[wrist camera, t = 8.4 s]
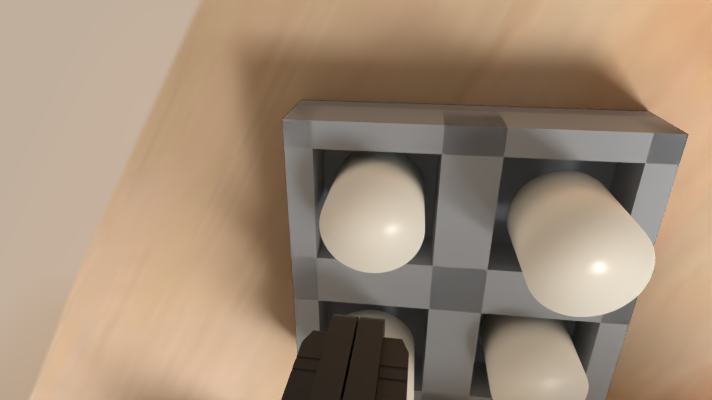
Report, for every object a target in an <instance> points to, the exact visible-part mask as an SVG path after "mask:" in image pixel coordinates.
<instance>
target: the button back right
mask: <svg viewBox="0 0 712 400" xmlns="http://www.w3.org/2000/svg"><path fill="white" fill-rule="evenodd" d="M481 339H482V345H483V351H484V357H485V363H486V369H487V374H488V380H489V386H490V392H491V396H492V399H493V400H585V399H586V397H587V394H588V390H589V383H588V379H587V376H586V374H585V371H584V369H583V367H582V364H581V362H580V359H579V357H578V355H577V352H576V350H575V347H574V345H573V343H572V340H571V338H570V335H569V333H568V331H567V328H566V326H565V323H564V321H563V320H560V319H547V318H534V317H522V316H509V315H496V314H487V315H486V317H485V318H484V320H483V322H482V325H481Z"/></svg>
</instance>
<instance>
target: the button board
mask: <svg viewBox="0 0 712 400" xmlns="http://www.w3.org/2000/svg"><path fill="white" fill-rule="evenodd" d="M282 123H283V138H284V154H285V169H286V184H287V200H288V215H289V231H290V246H291V262H292V277H293V292H294V308H295V323H296V339H297V354H298V351H299V348H300V346H301V343H302V341H303V340H304V339H305V338H306V337H307V336H308V335H309V334H310V333H311V332H312V331H313V330H316V331H326V332H328V329H329V326H330V322H331V319H332V316H333V314H340V315H348V314H350V313H353V312H356V311H360V310H378V311H383V312H386V313H389V314H391V315H393V316H395V317H397V318H398V319H400V320H401V321H402V322H403V323H404V324H405V325H406V326H407V327H408V328H409V330H410V331H411V333H412V335H413V338H414V343H415V351H414V400H493V399H492V396H491V392H490V386H489V380H488V374H487V369H486V363H485V357H484V351H483V345H482V339H481V325H482V322H483V320H484V318H485V317H486V315H487V314H496V315H509V316H522V317H534V318H547V319H560V320H563V321H564V323H565V326H566V328H567V331H568V333H569V335H570V338H571V340H572V343H573V345H574V347H575V350H576V352H577V355H578V357H579V359H580V362H581V364H582V367H583V369H584V371H585V374H586V376H587V379H588V383H589V390H588V394H587V397H586V399H585V400H605V399H606V395H607V392H608V389H609V386H610V383H611V379H612V376H613V373H614V370H615V367H616V364H617V360H618V357H619V354H620V351H621V348H622V344H623V341H624V338H625V335H626V332H627V328H628V325H629V322H630V319H631V316H632V313H633V309H634V306H635V303H636V300H637V297H638V296H637V297H636V298H635V299H633V300H632V301H631V302H629V303H628V304H626V305H625V306H623V307H621V308H619V309H617V310H615V311H612V312H609V313H606V314H603V315H598V316H592V317H573V316H567V315H562V314H559V313H556V312H554V311H552V310H550V309H548V308H546V307H545V306H543V305H542V304H540V303H539V302H538V301H537V300H536V299H535V298H534V296H533V295H532V294H531V292H530V291H529V289H528V286H527V284H526V281H525V278H524V275H523V273H522V270H521V267H520V264H519V261H518V258H517V255H516V252H515V249H514V247H513V244H512V241H511V238H510V235H509V232H508V228H507V212H508V208H509V205H510V203H511V201H512V199H513V197H514V196H515V195H516V193H517V192H518V191H519V190H520V189H521V188H522V187H523V186H524V185H525V184H526V183H528V182H529V181H531V180H532V179H534V178H536V177H538V176H540V175H543V174H545V173H549V172H553V171H559V170H572V171H579V172H583V173H585V174H588V175H590V176H592V177H594V178H596V179H597V180H598V181H600V182H601V183H602V184H603V185H604V186H605V187H606V188H607V190H608V191H609V192H610V193H611V194H612V195H613V196H614V198H615V199H616V200H617V201H618V202H619V203H620V204H621V205H622V207H623V208H624V209H625V210H626V211H627V212H628V213H629V215H630V216H631V217H632V218H633V219H634V220H635V221H636V222H637V224H638V225H639V226H640V227H641V228H642V229H643V230H644V232H645V233H646V234H647V235H648V237H649V238H650V240H651V242H652V244H653V246H654V243H655V239H656V236H657V233H658V230H659V227H660V223H661V220H662V217H663V214H664V211H665V208H666V204H667V201H668V198H669V195H670V192H671V188H672V185H673V182H674V179H675V176H676V173H677V169H678V166H679V163H680V160H681V157H682V153H683V150H684V147H685V144H686V141H687V138H688V134H687V133H685V132H684V131H682V130H680V129H679V128H677V127H675V126H673V125H672V124H670V123H668V122H667V121H665V120H663V119H661V118H660V117H658V116H656V115H655V114H653V113H651V112H649V111H628V110H597V109H566V108H535V107H504V106H473V105H442V104H411V103H380V102H349V101H318V100H301V101H300V102H299V103H298V104H297V105H296V106H295V107H294V108H293V109H292V110H291V111H290V112H289V113H288V114H287V115H286V116H285V117H284V118H283V119H282ZM358 151H375V152H398V153H403V154H404V155H406V156H407V157H408V158H410V159H411V160H412V161H413V162H414V164H415V165H416V166H417V168H418V169H419V171H420V173H421V175H422V178H423V182H424V203H425V235H424V240H423V243H422V245H421V247H420V249H419V251H418V252H417V254H416V255H415V256H414V257H413V258H412V259H411V260H410V261H409V262H408V263H406V264H405V265H403V266H402V267H399V268H397V269H395V270H392V271H388V272H383V273H367V272H361V271H357V270H355V269H352V268H350V267H348V266H346V265H344V264H342V263H341V262H339V261H338V260H337V259H336V258H335V257H334V256H333V255H332V254H331V253H330V252H329V251H328V249H327V248H326V246H325V244H324V242H323V240H322V238H321V234H320V228H319V219H320V214H321V211H322V208H323V205H324V203H325V201H326V198H327V196H328V194H329V191H330V189H331V186H332V184H333V182H334V179H335V177H336V175H337V172H338V170H339V168H340V167H341V165H342V164H343V162H344V161H345V160H346V159H347V158H348V157H350V156H351V155H352V154H354V153H356V152H358Z"/></svg>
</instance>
